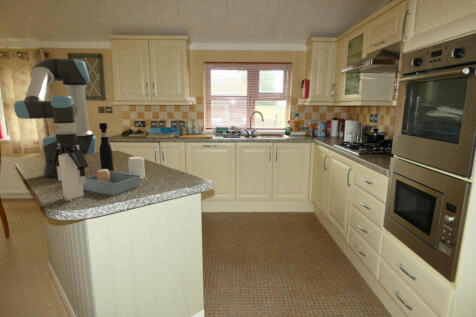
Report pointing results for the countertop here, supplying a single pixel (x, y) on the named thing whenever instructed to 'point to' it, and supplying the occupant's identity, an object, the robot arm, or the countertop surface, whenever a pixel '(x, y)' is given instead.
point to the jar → (103, 175)
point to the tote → (112, 183)
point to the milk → (69, 177)
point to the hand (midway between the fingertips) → (71, 181)
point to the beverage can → (136, 166)
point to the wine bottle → (105, 149)
